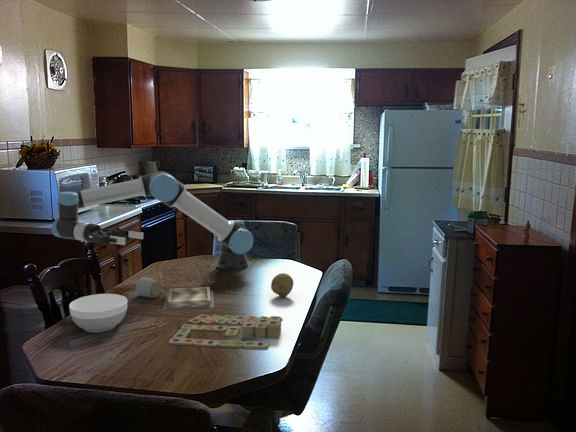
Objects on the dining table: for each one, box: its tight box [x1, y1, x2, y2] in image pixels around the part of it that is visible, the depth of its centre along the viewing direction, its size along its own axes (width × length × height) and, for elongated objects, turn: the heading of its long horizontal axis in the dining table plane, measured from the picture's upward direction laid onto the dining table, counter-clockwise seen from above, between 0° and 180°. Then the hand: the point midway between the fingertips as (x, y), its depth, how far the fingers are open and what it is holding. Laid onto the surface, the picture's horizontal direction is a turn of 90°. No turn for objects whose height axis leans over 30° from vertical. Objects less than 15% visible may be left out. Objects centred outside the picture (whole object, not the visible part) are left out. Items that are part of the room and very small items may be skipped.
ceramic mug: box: [134, 276, 164, 299], centre depth 213 cm, size 11×8×8 cm
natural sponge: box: [270, 272, 294, 298], centre depth 212 cm, size 9×9×10 cm
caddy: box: [168, 286, 211, 308], centre depth 208 cm, size 16×16×2 cm
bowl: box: [68, 293, 128, 333], centre depth 180 cm, size 19×19×9 cm
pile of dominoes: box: [168, 314, 283, 350], centre depth 178 cm, size 35×27×6 cm
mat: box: [163, 290, 215, 311], centre depth 208 cm, size 19×20×1 cm
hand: (134, 238), depth 211 cm, fingers open, 13 cm apart
